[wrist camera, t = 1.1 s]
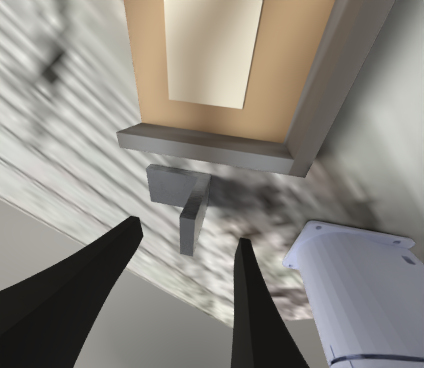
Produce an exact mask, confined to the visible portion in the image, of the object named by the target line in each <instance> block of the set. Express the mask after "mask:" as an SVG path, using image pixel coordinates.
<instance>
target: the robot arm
mask: <svg viewBox="0 0 424 368" xmlns="http://www.w3.org/2000/svg"><path fill="white" fill-rule="evenodd" d="M142 238H143V232H142V227H141V223H140V219H139V217H135V216H130V217H129V218H127V219H126V220H124V221H123V222H121V223H120V224H118V225H117V226H116V227H114V228H113V229H111V230H110V231H108V232H107V233H106V234H104V235H103V236H101V237H100V238H98V239H97V240H95V241H94V242H92V243H90V244H89V245H87V246H86V247H84V248H83V249H81V250H79V251H78V252H76V253H75V254H73V255H71V256H69V257H68V258H66V259H64V260H62V261H60V262H59V263H57V264H55V265H53V266H51V267H49V268H47V269H45V270H43V271H41V272H39V273H37V274H35V275H33V276H31V277H30V278H27V279H25V280H23V281H21V282H19V283H17V284H15V285H13V286H10V287H8V288H6V289H4V290H1V291H0V368H73V367H74V364H75V362H76V360H77V358H78V356H79V353H80V351H81V349H82V347H83V344H84V342H85V340H86V338H87V336H88V333H89V332H90V330H91V328H92V326H93V324H94V321H95V320H96V318H97V316H98V313H99V312H100V310H101V308H102V306H103V304H104V302H105V300H106V298H107V296H108V295H109V293H110V291H111V289H112V287H113V286H114V284H115V282H116V281H117V279H118V278H119V276H120V275H121V273H122V272H123V270H124V269H125V267H126V266H127V264H128V262H129V261H130V259H131V258H132V256H133V255H134V253H135V252H136V250H137V248H138V246H139V244H140V242H141V240H142ZM414 245H415V242H414V241H413V240H412V239H410V238H406V237H400V236H395V235H390V234H384V233H379V232H373V231H368V230H363V229H357V228H352V227H347V226H341V225H336V224H330V223H325V222H320V221H314V220H312V221H309V222H307V224H306V225H305V227H304V228H303V230H302V231H301V233H300V235H299V236H298V238H297V239H296V241H295V242H294V244H293V245H292V247H291V249H290V250H289V252H288V253H287V255H286V256H285V258H284V259H283V261H282V265H283V266H284V267H288V268H293V269H298V270H300V273H301V277H302V280H303V283H304V287H305V290H306V293H307V296H308V300H309V303H310V306H311V309H312V313H313V316H314V319H315V323H316V326H317V329H318V332H319V335H320V339H321V342H322V345H323V349H324V352H325V355H326V359H327V362H328V365H329V366H330V368H424V264H423V263H422V262H421V261H420V260H419V259H418V258H417V257H416V256H415V255H414V254H413V253H412V252H411V251H410V250H409V249H410V248H411V247H413V246H414ZM231 368H309V366H308V364H307V363H306V361H305V360H304V358H303V356H302V354H301V353H300V351H299V349H298V347H297V345H296V344H295V342H294V340H293V339H292V337H291V335H290V333H289V332H288V330H287V328H286V326H285V324H284V322H283V320H282V318H281V316H280V314H279V312H278V310H277V308H276V306H275V304H274V302H273V300H272V298H271V295H270V293H269V291H268V289H267V286H266V284H265V281H264V279H263V276H262V274H261V271H260V269H259V266H258V263H257V260H256V257H255V254H254V251H253V248H252V244H251V240H250V239H246V238H241V237H240V240H239V243H238V247H237V250H236V253H235V259H234V328H233V344H232V359H231Z"/></svg>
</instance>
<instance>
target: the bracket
mask: <svg viewBox="0 0 424 368" xmlns="http://www.w3.org/2000/svg"><path fill="white" fill-rule="evenodd" d="M146 172H147V178H148V184H149V191H150V197H151V201H152V202H157V203H162V204H168V205H173V206H178V207H183V208H184V209H183V211H182V213H181V215H180V254H184V255H189V256H193V255H194V251H195V248H196V244H197V241H198V237H199V234H200V231H201V227H202V224H203V220H204V217H205V213H206V210H207V206H208V198H209V189H210V180H211V174H205V173H199V172H194V171H188V170H182V169H176V168H170V167H165V166H159V165H153V164H150V165H149V166H148V167H147V168H146Z"/></svg>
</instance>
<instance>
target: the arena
mask: <svg viewBox="0 0 424 368" xmlns="http://www.w3.org/2000/svg"><path fill="white" fill-rule="evenodd" d="M394 2H395V0H124V5H125V12H126V19H127V26H128V32H129V39H130V46H131V52H132V59H133V66H134V72H135V79H136V86H137V93H138V99H139V106H140V113H141V119H142V123H140V124H137V125H135V126H132V127H129V128H127V129H124V130H121V131H119V132H116V134H117V138H118V142H119V146H120V148H126V149H132V150H138V151H144V152H150V153H157V154H163V155H169V156H175V157H181V158H187V159H193V160H199V161H205V162H212V163H218V164H224V165H230V166H236V167H242V168H248V169H254V170H260V171H267V172H273V173H279V174H285V175H291V176H297V177H303V178H305V177H306V175H307V173H308V171H309V169H310V167H311V165H312V163H313V161H314V159H315V157H316V155H317V153H318V151H319V149H320V147H321V145H322V143H323V141H324V139H325V138H326V136H327V134H328V132H329V130H330V128H331V126H332V124H333V122H334V120H335V118H336V116H337V114H338V112H339V110H340V108H341V106H342V104H343V102H344V100H345V98H346V96H347V94H348V92H349V91H350V89H351V87H352V85H353V83H354V81H355V79H356V77H357V75H358V73H359V71H360V69H361V67H362V65H363V63H364V61H365V59H366V57H367V55H368V53H369V51H370V49H371V47H372V45H373V43H374V42H375V40H376V38H377V36H378V34H379V32H380V30H381V28H382V26H383V24H384V22H385V20H386V18H387V16H388V14H389V12H390V10H391V8H392V6H393V4H394Z"/></svg>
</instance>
